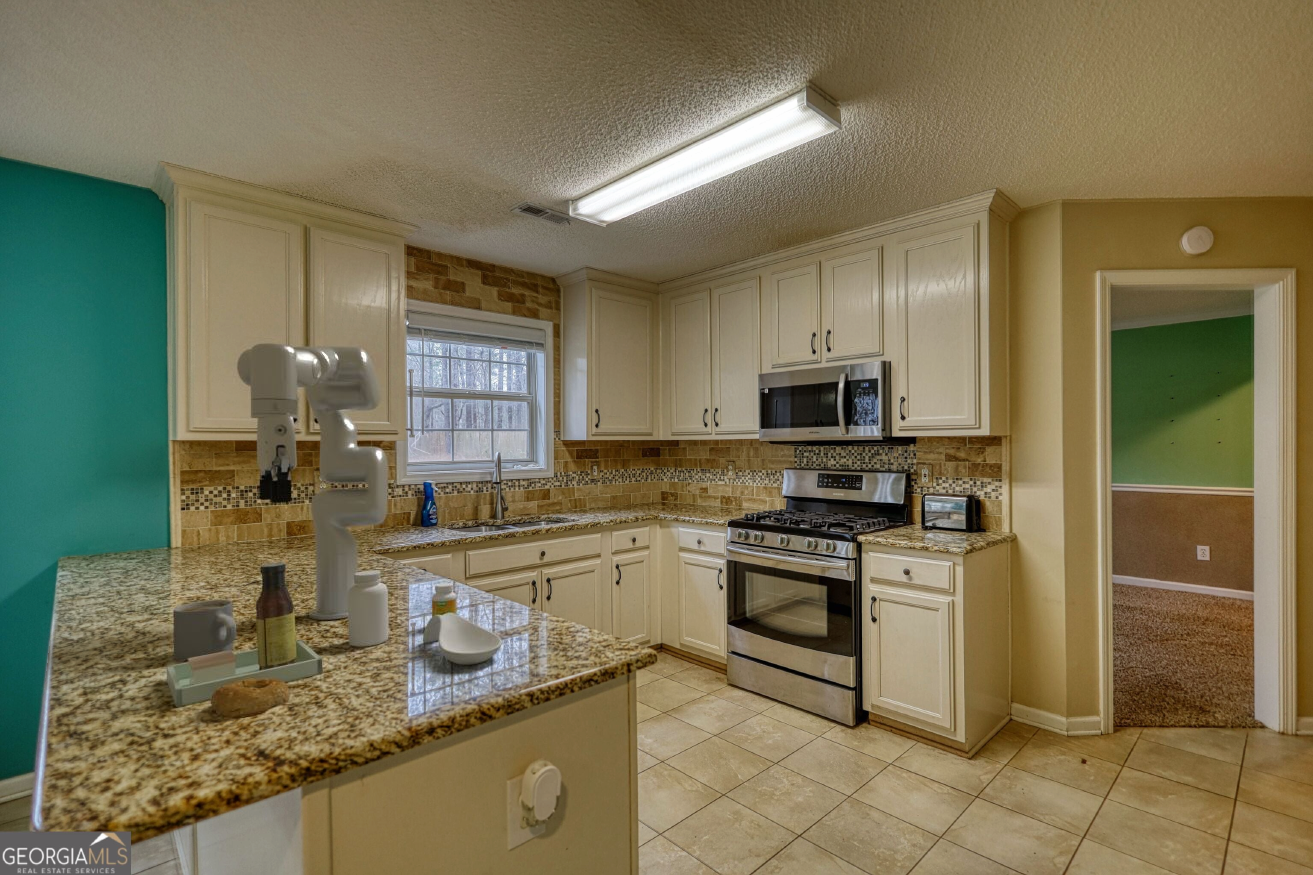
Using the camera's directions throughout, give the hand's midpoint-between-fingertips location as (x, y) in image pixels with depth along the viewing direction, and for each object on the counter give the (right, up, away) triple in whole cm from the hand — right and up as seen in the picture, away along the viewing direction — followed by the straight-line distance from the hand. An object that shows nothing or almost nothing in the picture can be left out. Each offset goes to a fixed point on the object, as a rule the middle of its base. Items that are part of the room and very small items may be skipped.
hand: (275, 500), depth 120 cm
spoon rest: (+31, -32, +10) cm, 46 cm away
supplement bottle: (+22, -33, +30) cm, 49 cm away
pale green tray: (-3, -32, -4) cm, 33 cm away
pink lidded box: (-7, -32, -7) cm, 33 cm away
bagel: (+6, -33, -16) cm, 37 cm away
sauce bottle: (0, -32, 0) cm, 32 cm away
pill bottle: (+9, -33, +18) cm, 38 cm away
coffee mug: (-20, -33, +11) cm, 40 cm away
